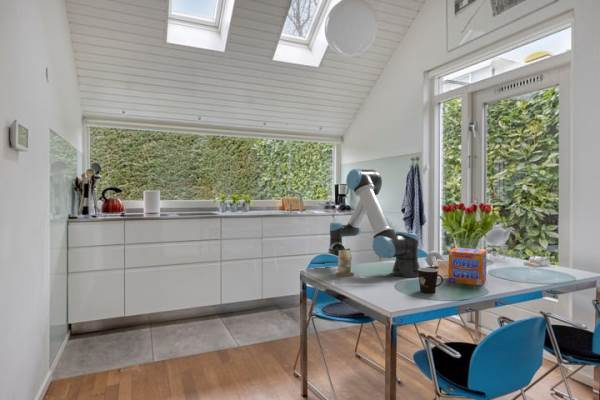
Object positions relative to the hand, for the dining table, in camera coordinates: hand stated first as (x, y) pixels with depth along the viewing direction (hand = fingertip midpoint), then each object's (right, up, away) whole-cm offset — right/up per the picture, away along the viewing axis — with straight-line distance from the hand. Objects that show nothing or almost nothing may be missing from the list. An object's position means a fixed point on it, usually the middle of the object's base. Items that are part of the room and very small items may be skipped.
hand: (342, 254), depth 195 cm
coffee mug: (+35, -12, -33) cm, 49 cm away
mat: (+1, -11, -3) cm, 12 cm away
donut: (+57, -11, +22) cm, 63 cm away
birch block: (+1, -9, 0) cm, 9 cm away
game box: (+62, -12, -11) cm, 64 cm away
